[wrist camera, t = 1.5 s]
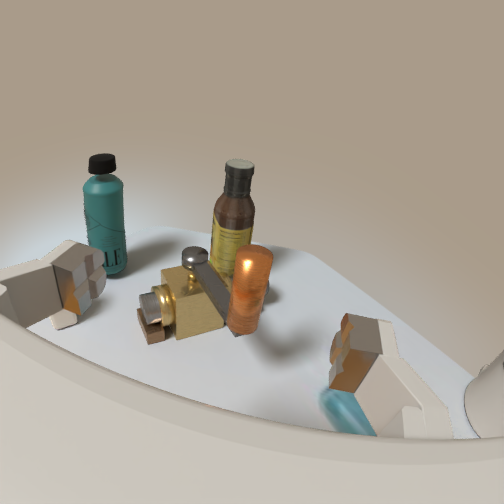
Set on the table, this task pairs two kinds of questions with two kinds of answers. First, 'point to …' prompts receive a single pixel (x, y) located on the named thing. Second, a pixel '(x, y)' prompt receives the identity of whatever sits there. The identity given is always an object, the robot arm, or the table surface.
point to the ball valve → (180, 306)
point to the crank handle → (234, 285)
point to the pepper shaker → (63, 319)
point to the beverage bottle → (105, 212)
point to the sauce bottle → (232, 216)
